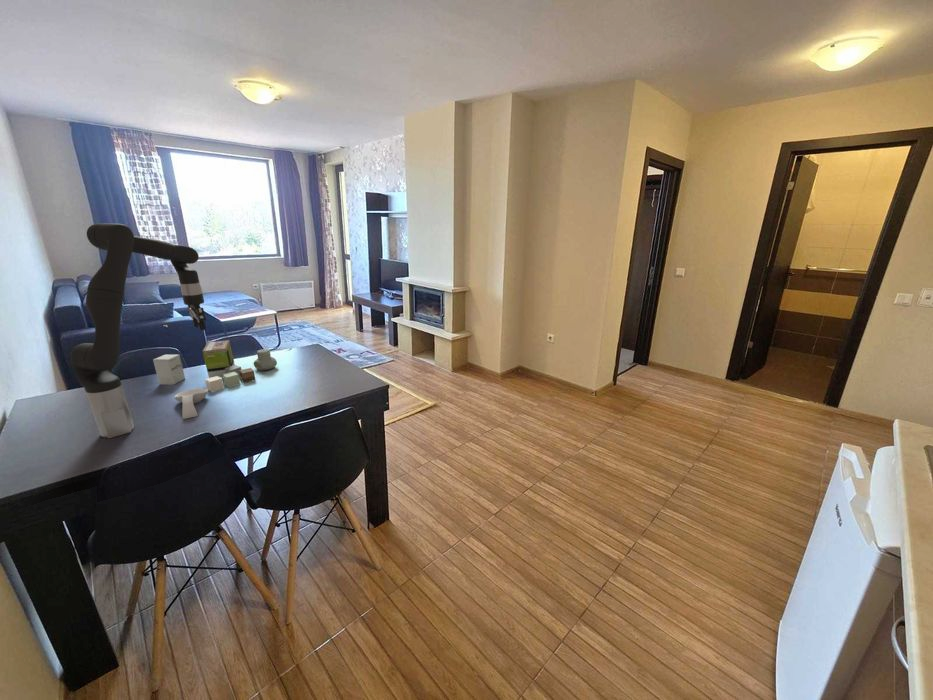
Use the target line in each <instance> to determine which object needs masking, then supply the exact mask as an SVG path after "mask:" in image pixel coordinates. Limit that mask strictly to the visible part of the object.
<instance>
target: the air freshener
mask: <svg viewBox="0 0 933 700" xmlns="http://www.w3.org/2000/svg"><path fill="white" fill-rule="evenodd" d="M256 356H257V359H255V360H254V361H253V366H254V367H255V369H257V370H258V371H261V370H265V371H269V369H270V370H272V369H274V368H275V367H276V366H277V364H278V362H277V359H276V358H274V357H273V356H272V355H271V350H270V349H268V348H264V349H259V350H257V351H256Z"/></svg>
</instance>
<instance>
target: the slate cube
mask: <svg viewBox="0 0 933 700" xmlns="http://www.w3.org/2000/svg"><path fill="white" fill-rule="evenodd" d="M239 370H242V367H241V366H239V365H236V364H235V365H234V366H230V367H227V368H225V372H226V374H227V373H231V372H236V373H237V374H238V375H239V378H241V376H240V371H239Z"/></svg>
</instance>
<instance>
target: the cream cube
mask: <svg viewBox="0 0 933 700" xmlns="http://www.w3.org/2000/svg"><path fill="white" fill-rule="evenodd" d="M204 381H205V385H206V389H208V391H209V392H211V393H212V392H217V391H220V390H223V389H224V383H223V382H224V380H223V377H218V376H215V377H211V378H209V377H208V378H205V379H204Z"/></svg>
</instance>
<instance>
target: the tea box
mask: <svg viewBox="0 0 933 700" xmlns="http://www.w3.org/2000/svg"><path fill="white" fill-rule="evenodd" d="M202 356H203V359H204V363H205V366H206V372H207V374H208V375H207V376H208V378H211V377H215V376H218V377H220V378H223V374H226V372H225V368H227V367H230V366H234V365H236V363H235V360H234V356H233V351H232V347H231V343H230V339H228V340H220V341H210V342H207V343H206V345H205V347H204V348H203V349H202Z"/></svg>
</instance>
